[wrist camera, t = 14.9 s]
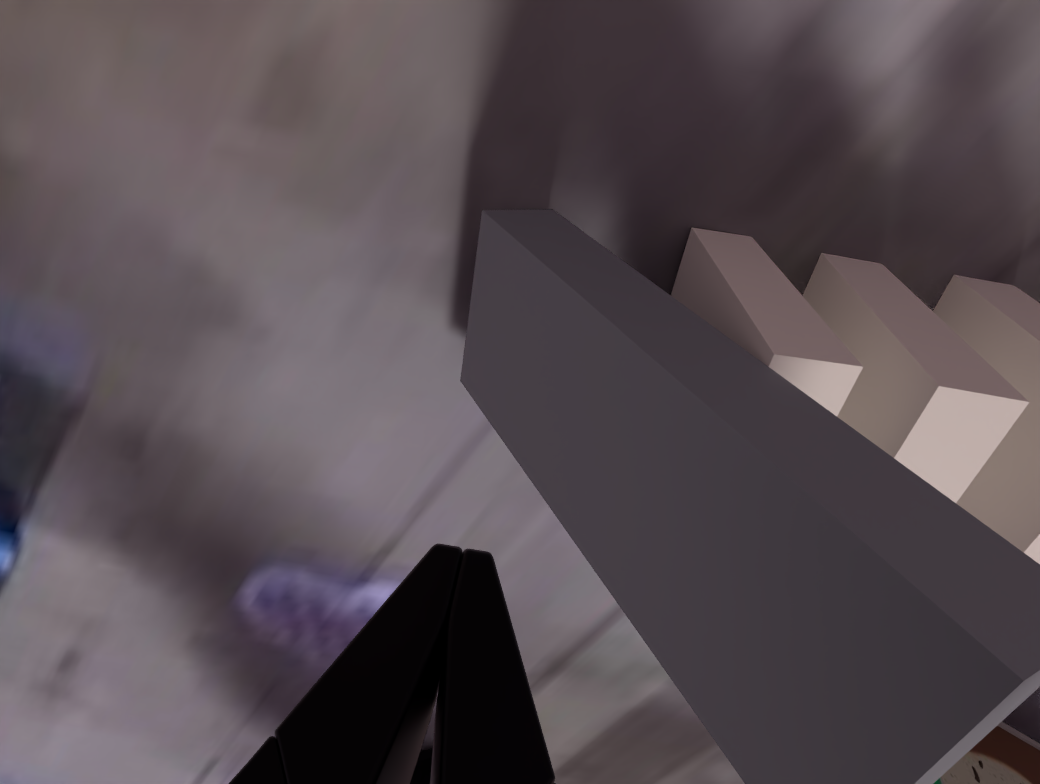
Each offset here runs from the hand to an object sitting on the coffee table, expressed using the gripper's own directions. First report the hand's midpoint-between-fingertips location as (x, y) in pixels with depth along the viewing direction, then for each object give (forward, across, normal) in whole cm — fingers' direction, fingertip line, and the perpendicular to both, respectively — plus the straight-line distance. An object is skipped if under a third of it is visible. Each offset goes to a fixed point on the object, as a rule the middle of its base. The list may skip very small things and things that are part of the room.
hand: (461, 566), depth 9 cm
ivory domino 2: (+10, -8, 0) cm, 13 cm away
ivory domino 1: (+10, -5, 0) cm, 11 cm away
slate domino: (+9, 0, 0) cm, 9 cm away
